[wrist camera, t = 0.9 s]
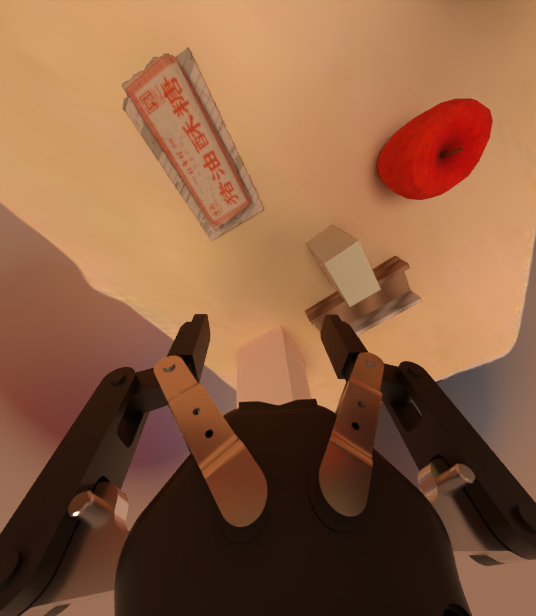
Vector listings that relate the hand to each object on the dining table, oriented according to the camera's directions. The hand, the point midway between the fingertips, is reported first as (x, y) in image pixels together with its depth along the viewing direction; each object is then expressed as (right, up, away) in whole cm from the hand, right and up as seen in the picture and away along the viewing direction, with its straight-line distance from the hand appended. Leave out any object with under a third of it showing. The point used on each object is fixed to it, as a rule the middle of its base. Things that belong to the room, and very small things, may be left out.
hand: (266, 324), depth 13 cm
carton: (+12, +11, +23) cm, 28 cm away
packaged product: (-9, +22, +14) cm, 27 cm away
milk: (+1, -9, +35) cm, 37 cm away
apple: (+19, +23, +16) cm, 33 cm away
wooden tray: (+19, +3, +29) cm, 35 cm away
